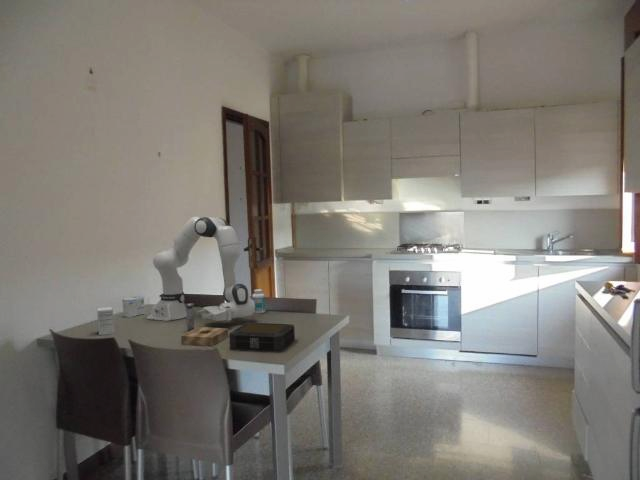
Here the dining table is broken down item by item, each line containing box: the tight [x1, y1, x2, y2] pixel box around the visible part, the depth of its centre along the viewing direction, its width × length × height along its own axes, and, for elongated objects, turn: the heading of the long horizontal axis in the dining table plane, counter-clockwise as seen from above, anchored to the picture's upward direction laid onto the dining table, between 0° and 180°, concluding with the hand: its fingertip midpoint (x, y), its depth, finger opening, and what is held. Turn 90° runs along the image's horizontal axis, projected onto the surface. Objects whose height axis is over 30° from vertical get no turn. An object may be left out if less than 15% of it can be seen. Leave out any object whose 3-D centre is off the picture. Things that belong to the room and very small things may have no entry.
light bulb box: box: [121, 295, 146, 318], centre depth 289 cm, size 11×7×11 cm, turn 144°
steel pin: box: [184, 302, 195, 333], centre depth 250 cm, size 4×4×14 cm
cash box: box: [228, 322, 296, 353], centre depth 222 cm, size 25×20×8 cm
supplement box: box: [96, 306, 115, 336], centre depth 252 cm, size 7×7×13 cm
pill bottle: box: [251, 288, 266, 315], centre depth 287 cm, size 8×7×14 cm
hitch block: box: [180, 326, 229, 347], centre depth 232 cm, size 16×16×4 cm
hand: (199, 315), depth 252 cm, fingers open, 8 cm apart
